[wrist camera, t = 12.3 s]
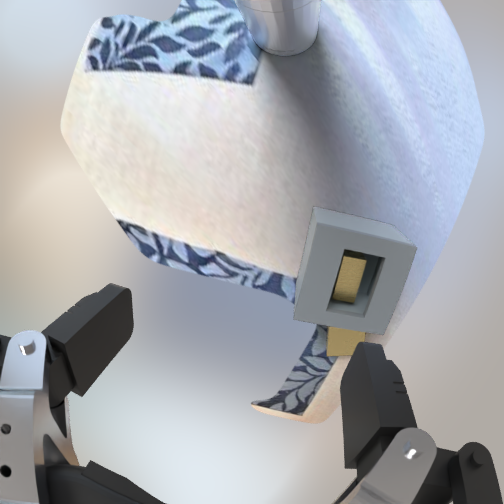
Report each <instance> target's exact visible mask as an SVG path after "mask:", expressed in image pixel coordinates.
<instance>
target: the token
mask: <svg viewBox="0 0 504 504" xmlns="http://www.w3.org/2000/svg"><path fill="white" fill-rule="evenodd" d="M365 334H366V332H360V331H354V330H348V329H342V328H336V327H331V326H327V340H326V351H327V356H345V355H353V353H354V350H355V348H356V346H357V344H358V343H359V342H364V341H365Z"/></svg>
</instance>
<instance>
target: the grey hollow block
mask: <svg viewBox="0 0 504 504" xmlns="http://www.w3.org/2000/svg"><path fill="white" fill-rule="evenodd" d="M344 249H348V250H352V251H357V252H362V253H363V255H364V256H365V258H366V260H367V261H366V265H365V268H364V272H363V275H362V278H361V282H360V285H359V288H358V292H357V295H356V298H355V301H354V303H352V302H346V301H340V300H334V299H332V295H331V293H332V290H333V287H334V283H335V280H336V277H337V273H338V270H339V266H340V263H341V259H342V256H343V252H344ZM416 250H417V247H416V246H415V245H414V244H413V243H412V242H411V241H410V240H409V239H408V238H407V237H405V236H404V235H403V234H402V233H401V232H400V231H399V230H398V229H397V228H396V227H395V226H393V225H391V224H387V223H383V222H379V221H375V220H371V219H367V218H363V217H359V216H354V215H350V214H346V213H341V212H337V211H333V210H328V209H324V208H319V207H314V206H313V211H312V216H311V221H310V225H309V230H308V234H307V239H306V243H305V248H304V252H303V256H302V261H301V265H300V269H299V273H298V277H297V281H296V291H295V306H294V320H298V321H303V322H309V323H314V324H319V325H325V326H331V327H336V328H342V329H348V330H354V331H360V332H367V333H373V334H380V335H384V333H385V331H386V328H387V326H388V324H389V322H390V319H391V317H392V315H393V312H394V310H395V307H396V305H397V302H398V300H399V297H400V295H401V292H402V290H403V287H404V285H405V282H406V279H407V276H408V274H409V271H410V268H411V265H412V262H413V259H414V256H415V253H416Z"/></svg>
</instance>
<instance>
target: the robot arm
mask: <svg viewBox="0 0 504 504" xmlns="http://www.w3.org/2000/svg"><path fill="white" fill-rule="evenodd" d="M234 1H235V3H236V5H237V7H238V9H239V11H240V13H241V15H242V17H243V19H244V21H245V23H246V25H247V27H248V29H249V31H250V33H251V35H252V37H253V39H254V41H255V42H256V44H257V45H258V46H259V47H260V48H261V49H263V50H265V51H266V52H268V53H271V54H274V55H279V56H290V55H296V54H299V53H301V52H303V51H305V50H307V49H308V48H309V47H310V46H311V45H312V44H313V43H314V41H315V39H316V36H317V30H318V23H319V14H320V5H321V0H234ZM133 326H134V323H133V309H132V294H131V291H130V289H128V288H125V287H122V286H119V285H115V284H112V283H110V284H108V285H107V286H106V287H104V288H103V289H102V290H100V291H99V292H98V293H97V292H96V293H93V294H91V295H88V296H86V297H84V298H82V299H81V300H80V301H79V302H77V303H76V304H75V306H72V307H71V308H70V309H69V310H68V312H65V313H64V314H62V315H61V316H60V317H59V318H58V319H56V320H55V321H54V322H53V323H52V324H50V325H49V326H48V327H47V328H46V329H45V330H43V331H42V332H41V333H40V332H38V331H34V330H26V331H22V332H19V333H17V334H16V335H15V336H13V337H12V338H11V337H7V336H3V335H0V504H165V503H163V502H161V501H160V500H158V499H157V498H155V497H153V496H151V495H150V494H149V493H147V492H146V491H144V490H143V489H141V488H140V487H138V486H137V485H135V484H134V483H133V482H131V481H130V480H129V479H127V478H125V477H123V476H121V475H119V474H117V473H115V472H113V471H111V470H108V469H106V468H104V467H103V466H101V465H99V464H96V463H95V462H93V461H91V460H90V462H89V463H88V465H87V466H86V467H82V466H79V462H78V459H77V456H76V454H75V451H74V448H73V445H72V438H71V429H70V419H69V404H68V398H67V395H68V394H69V393H70V391H72V392H74V393H76V394H78V395H79V396H81V397H82V396H83V395H84V394H85V393H86V392H87V390H88V389H89V388H90V387H91V385H92V384H93V383H94V382H95V380H96V379H97V378H98V377H99V375H100V374H101V373H102V372H103V370H104V369H105V368H106V367H107V366H108V364H109V363H110V362H111V361H112V359H113V358H114V357H115V356H116V354H117V353H118V352H119V351H120V350H121V348H122V347H123V346H124V345H125V344H126V343H127V341H128V340H129V339H130V337H131V335H132V332H133ZM340 394H341V406H342V419H343V435H344V458H345V468H347V469H348V468H349V469H357V477H355V478H354V480H353V481H352V482H351V483H350V484H349V485H348V486H347V488H346V489H345V490H344V491H343V492H342V493H341V494H340V495H339V496H338V498H337V499H336V500H335V501H334V502H333V503H332V504H449V503H451V502H452V501H453V504H503V502H502V497H501V492H500V488H499V483H498V479H497V475H496V471H495V468H494V464H493V460H492V457H491V454H490V452H489V451H488V449H487V448H486V447H485V446H483V445H482V444H480V443H477V442H470V443H467V444H465V445H464V446H463V447H462V448H461V449H460V450H459V451H458V452H455V451H450V450H446V449H441V448H437V447H436V444H435V442H434V440H433V439H432V437H431V436H430V435H429V434H428V433H427V432H425V431H423V430H421V429H418V428H417V424H416V420H415V417H414V414H413V410H412V407H411V403H410V400H409V396H408V394H407V390H406V387H405V385H404V381H403V378H402V374H401V371H400V370H399V369H398V367H397V366H396V365H395V364H394V363H393V361H392V360H386V357H385V354H384V350H383V347H382V345H381V344H375V343H368V342H359V343H358V344H357V346H356V348H355V350H354V353H353V355H352V357H351V359H350V361H349V363H348V366H347V368H346V370H345V372H344V374H343V377H342V380H341V386H340Z"/></svg>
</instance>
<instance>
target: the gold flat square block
mask: <svg viewBox="0 0 504 504" xmlns="http://www.w3.org/2000/svg"><path fill="white" fill-rule="evenodd" d="M366 261H367V260H366V258H365V256H364V255H363V253H362V252H357V251H352V250H348V249H344V252H343V256H342V259H341V263H340V266H339V270H338V273H337V277H336V280H335V283H334V287H333V290H332V293H331V295H332V299H334V300H340V301H346V302H352V303H354V301H355V298H356V295H357V292H358V288H359V285H360V282H361V278H362V275H363V272H364V268H365V265H366Z"/></svg>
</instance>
